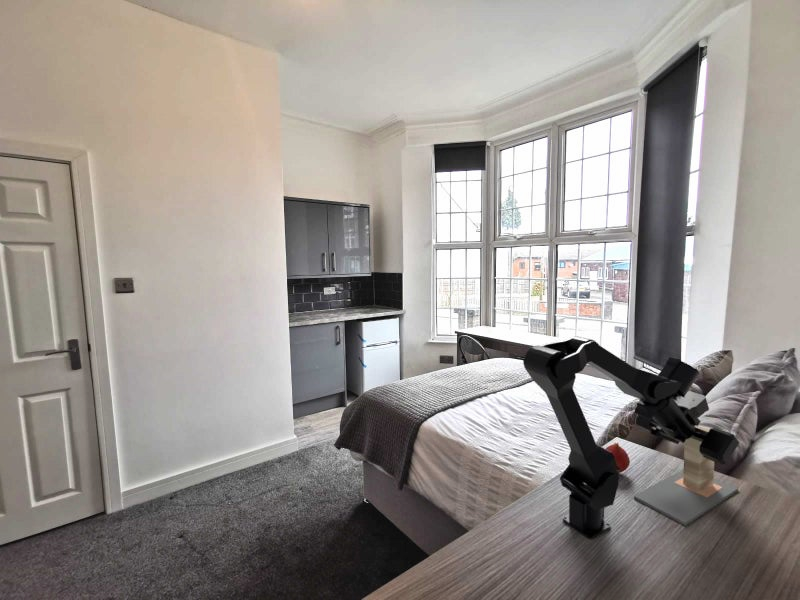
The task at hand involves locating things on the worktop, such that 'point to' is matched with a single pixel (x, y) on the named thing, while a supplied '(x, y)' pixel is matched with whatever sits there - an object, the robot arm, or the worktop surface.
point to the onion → (619, 456)
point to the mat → (684, 498)
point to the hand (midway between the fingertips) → (699, 451)
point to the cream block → (697, 465)
